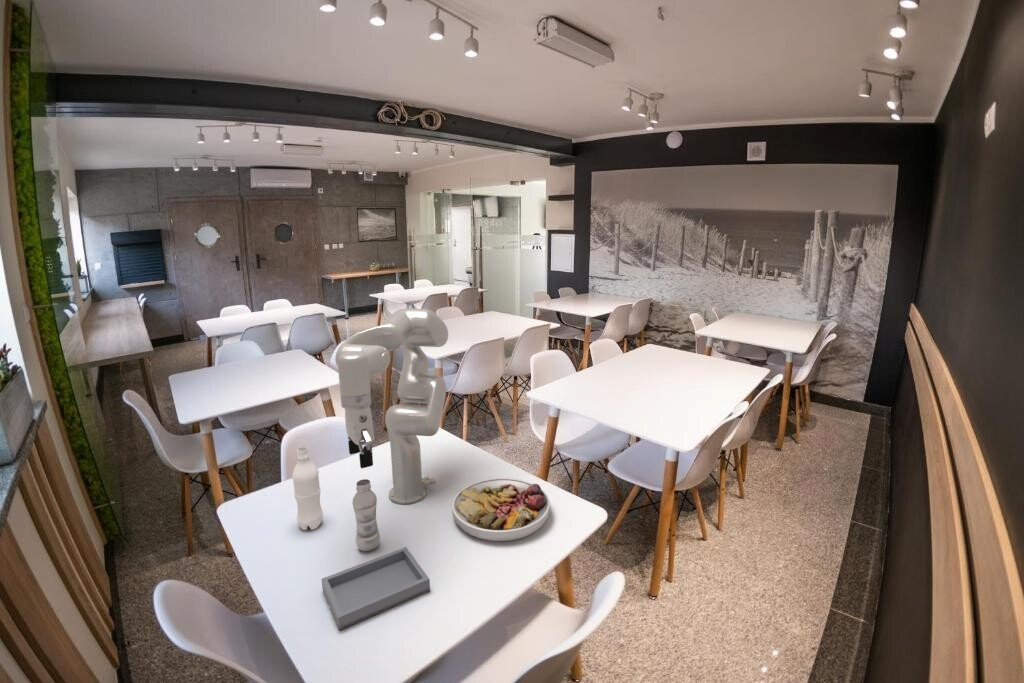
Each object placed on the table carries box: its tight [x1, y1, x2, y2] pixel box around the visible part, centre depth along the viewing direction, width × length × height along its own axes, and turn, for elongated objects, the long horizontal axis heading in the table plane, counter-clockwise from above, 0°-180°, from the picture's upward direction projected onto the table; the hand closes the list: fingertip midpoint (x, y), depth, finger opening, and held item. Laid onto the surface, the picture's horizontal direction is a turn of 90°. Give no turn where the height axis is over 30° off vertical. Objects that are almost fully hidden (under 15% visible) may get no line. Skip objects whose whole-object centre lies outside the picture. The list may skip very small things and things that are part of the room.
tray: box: [321, 546, 431, 632], centre depth 123 cm, size 22×15×4 cm
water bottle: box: [292, 446, 324, 531], centre depth 147 cm, size 7×7×25 cm
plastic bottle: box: [351, 478, 381, 552], centre depth 138 cm, size 6×7×20 cm
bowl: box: [451, 477, 551, 542], centre depth 154 cm, size 30×30×8 cm
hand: (360, 459), depth 133 cm, fingers open, 9 cm apart
